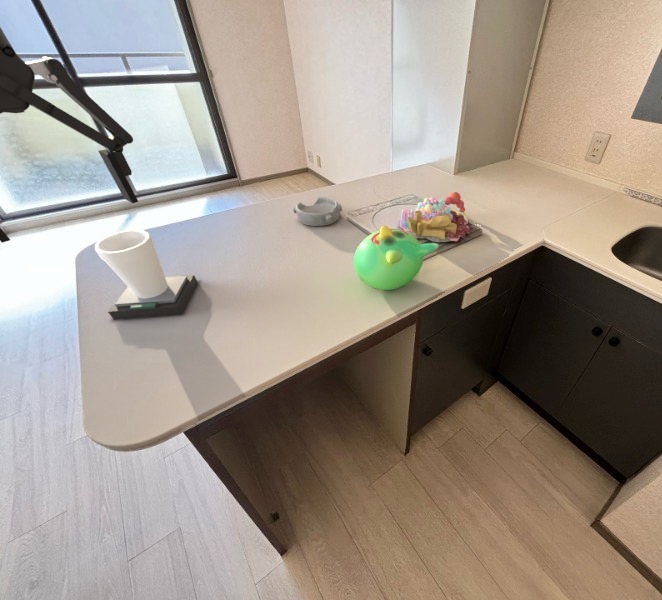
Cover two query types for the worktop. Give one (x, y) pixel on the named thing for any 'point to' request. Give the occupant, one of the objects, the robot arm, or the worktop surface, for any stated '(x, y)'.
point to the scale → (156, 300)
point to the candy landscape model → (437, 220)
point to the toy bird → (390, 258)
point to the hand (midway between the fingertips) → (73, 217)
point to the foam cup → (134, 261)
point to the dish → (319, 212)
